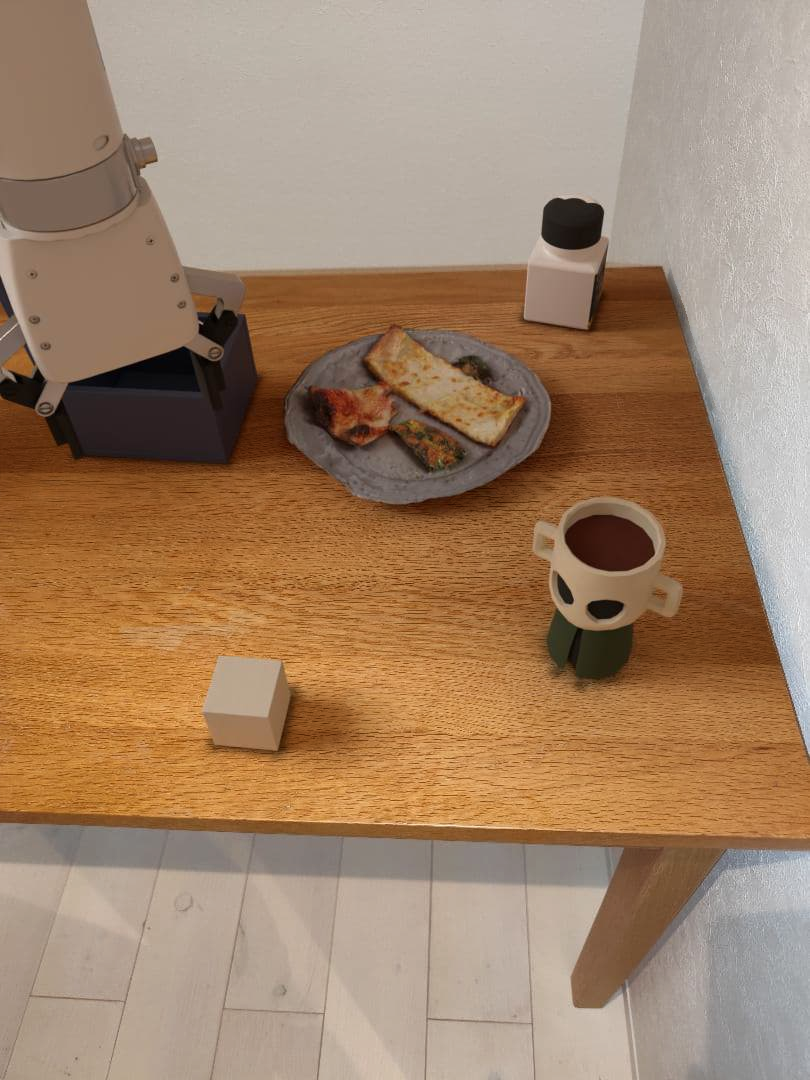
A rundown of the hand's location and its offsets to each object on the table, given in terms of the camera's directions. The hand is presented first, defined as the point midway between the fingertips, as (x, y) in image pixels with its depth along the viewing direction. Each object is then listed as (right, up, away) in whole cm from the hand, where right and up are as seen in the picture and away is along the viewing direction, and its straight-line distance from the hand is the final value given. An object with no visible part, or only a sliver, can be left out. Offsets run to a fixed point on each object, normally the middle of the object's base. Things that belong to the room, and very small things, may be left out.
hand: (145, 423), depth 61 cm
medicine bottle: (+35, +17, +37) cm, 53 cm away
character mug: (+32, -16, +7) cm, 36 cm away
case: (-5, +4, +27) cm, 27 cm away
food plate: (+19, +3, +25) cm, 31 cm away
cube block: (+7, -21, +4) cm, 22 cm away
